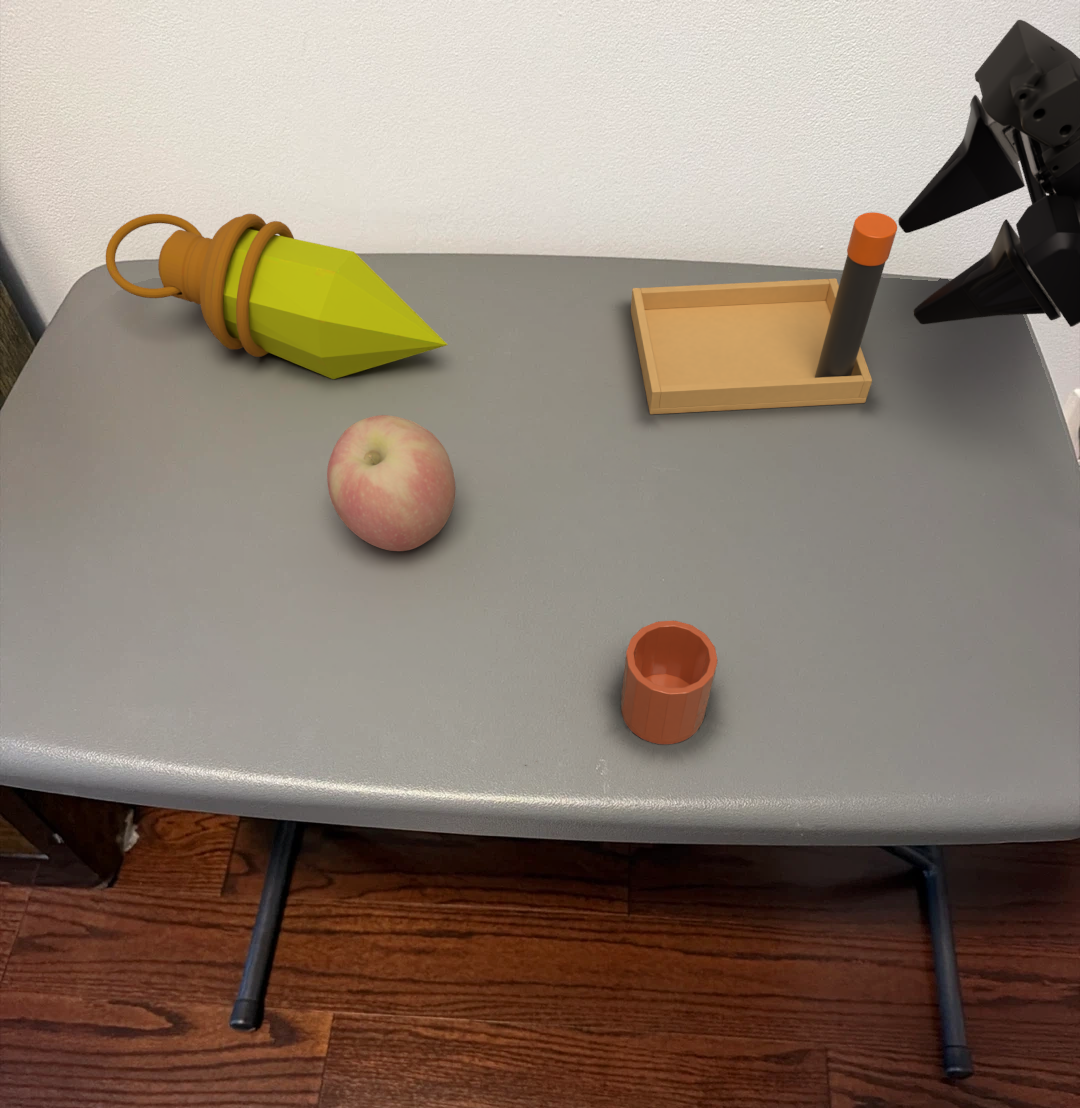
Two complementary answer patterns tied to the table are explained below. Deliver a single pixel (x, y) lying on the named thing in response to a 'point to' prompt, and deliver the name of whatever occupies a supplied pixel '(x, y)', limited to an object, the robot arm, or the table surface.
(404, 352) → the plumb bob
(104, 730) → the table surface
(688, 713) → the pen cup
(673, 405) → the tray
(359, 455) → the apple
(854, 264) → the cylinder
